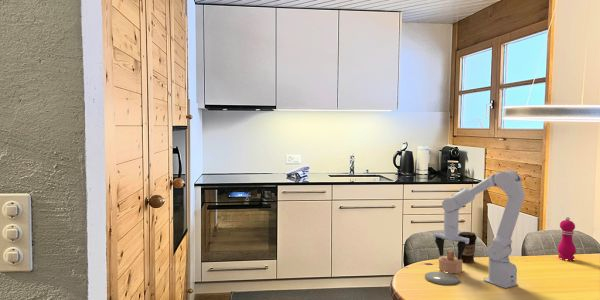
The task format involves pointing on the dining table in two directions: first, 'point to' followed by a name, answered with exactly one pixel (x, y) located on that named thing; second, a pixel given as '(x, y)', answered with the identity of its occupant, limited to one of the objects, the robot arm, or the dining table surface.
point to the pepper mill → (567, 240)
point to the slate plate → (442, 278)
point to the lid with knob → (450, 263)
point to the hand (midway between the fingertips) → (450, 257)
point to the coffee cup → (468, 246)
